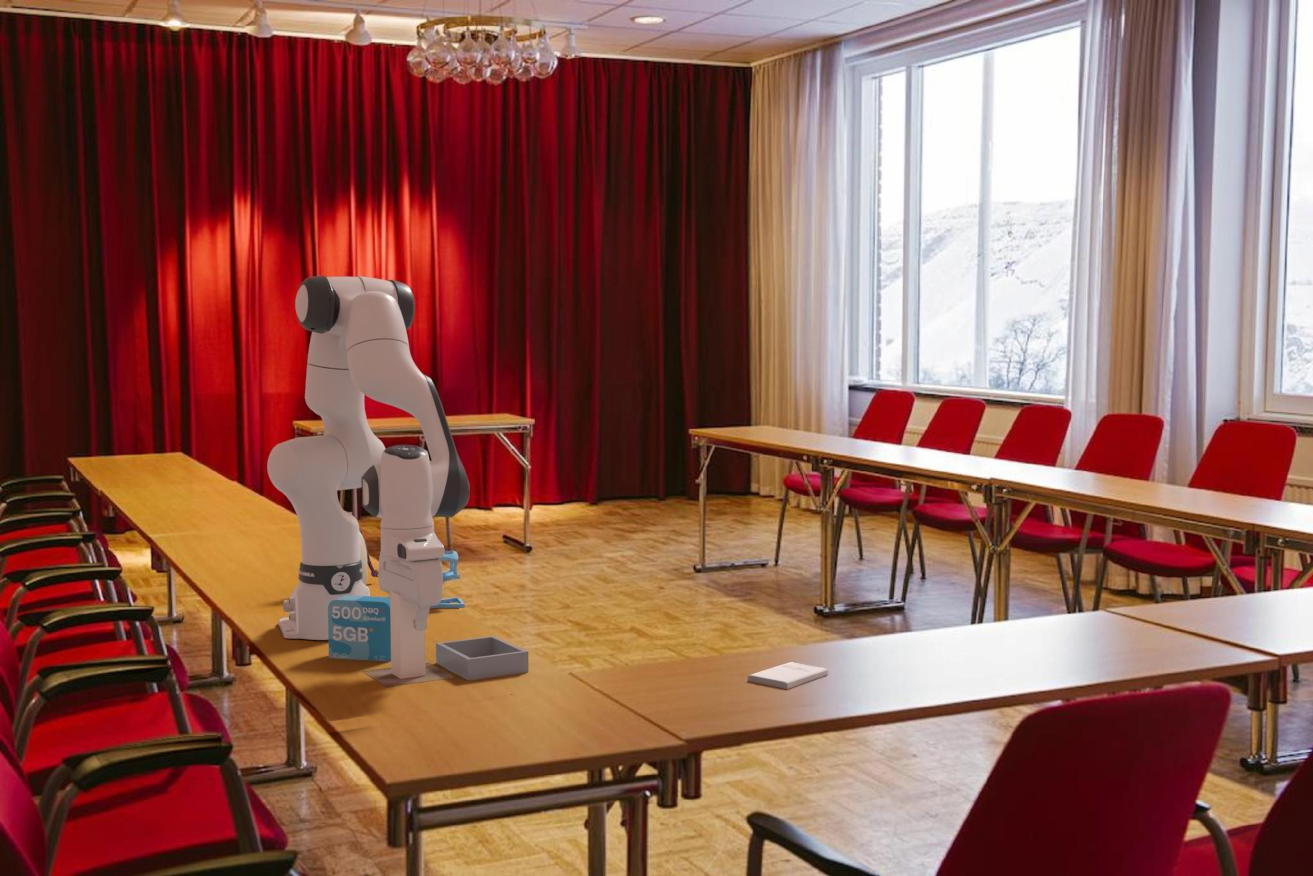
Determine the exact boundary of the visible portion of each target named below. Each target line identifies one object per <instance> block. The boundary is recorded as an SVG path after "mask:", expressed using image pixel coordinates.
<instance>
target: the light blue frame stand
mask: <svg viewBox="0 0 1313 876" xmlns="http://www.w3.org/2000/svg"><path fill="white" fill-rule="evenodd" d="M444 552H445V553H444V558H439V559H440V560H441V562H445V561H446V562H449V570H443V584H444V583H446V582H450V581H452V580H460V579H461V574H459V573H458V571H457V568H458V564H459V554H458V552H457V551H456V550H455V551H454V550H453V549H452V550H444ZM447 602H449V603H447ZM465 606H466V603H465V602H464V601H463V600H462V599H461V598H460V597H457V596H456V597H449V598H441V601H440V603H439V605H435V606H430V609H465Z"/></svg>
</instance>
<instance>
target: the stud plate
mask: <svg viewBox="0 0 1313 876" xmlns="http://www.w3.org/2000/svg"><path fill="white" fill-rule="evenodd" d="M425 664H426V675H425V676H417V677H410V678H403V679H400V678H398V677H397V676H395V675H394V674H392V673H391V667H385V668H377V669H375V668H374V669H370V670H362V673H363V674H365V675H367V676H368V677H370V678H372V679H373V680H374V681H376V682H378V683H380V684H381V685H383V686H384V687H385V688H392V687H399V686H406V685H412V684H420V683H426V682H427V683H428V682H434V681H441V680H449V679H454V678H455V679H456V676H454V675H452V674H450V673H449V672H447V671H445V670H443V669H441V668H440V667H438V666H437V665H434V664H432V663H430V662H425Z"/></svg>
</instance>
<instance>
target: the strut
mask: <svg viewBox="0 0 1313 876" xmlns="http://www.w3.org/2000/svg"><path fill="white" fill-rule="evenodd" d="M390 615H391V661H390V663H391V664H390V668H391V673H392V674H394V675H395V676H397V677H398V678H400V679H403V678H410V677H417V676H425V675H426V664H425V663H426V630H422V631H418V630H416V629H414V627H413V626H414V623H413V619H415V615H416V610H415V604H413V603H410V602H408V601H406V600H404V599H403V595H401V594H399V593H397V592H394V591H390Z"/></svg>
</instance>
